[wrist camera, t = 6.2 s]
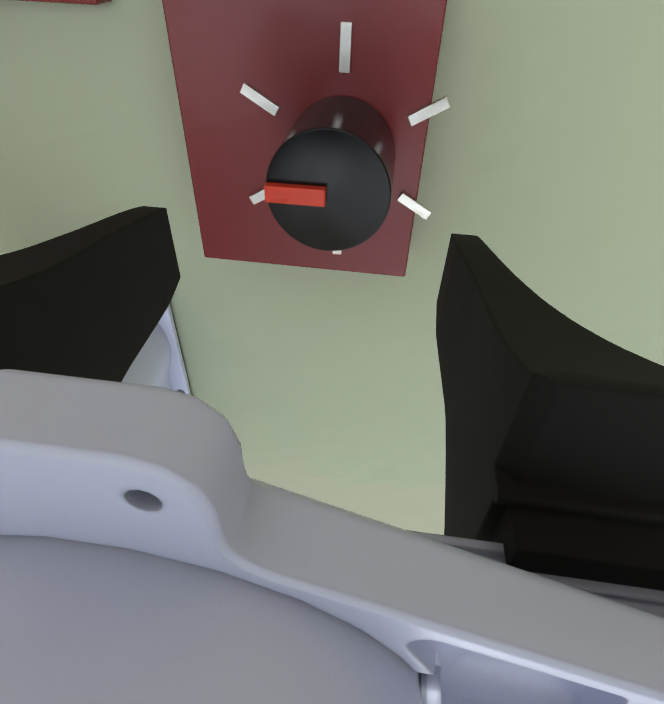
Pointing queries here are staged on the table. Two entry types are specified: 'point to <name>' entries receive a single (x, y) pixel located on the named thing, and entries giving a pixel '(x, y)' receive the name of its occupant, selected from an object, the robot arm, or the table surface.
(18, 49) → the table surface
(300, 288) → the table surface
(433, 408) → the table surface
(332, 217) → the knob
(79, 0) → the red lever base
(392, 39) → the panel
